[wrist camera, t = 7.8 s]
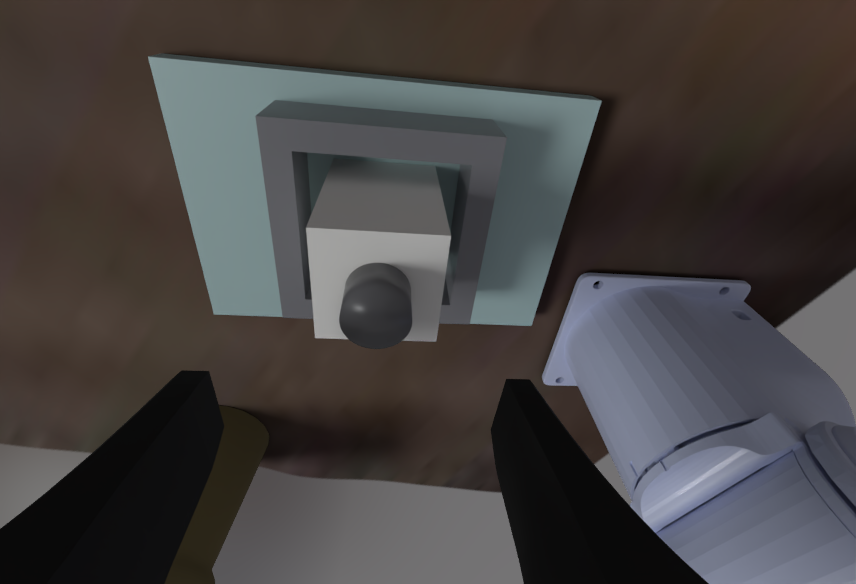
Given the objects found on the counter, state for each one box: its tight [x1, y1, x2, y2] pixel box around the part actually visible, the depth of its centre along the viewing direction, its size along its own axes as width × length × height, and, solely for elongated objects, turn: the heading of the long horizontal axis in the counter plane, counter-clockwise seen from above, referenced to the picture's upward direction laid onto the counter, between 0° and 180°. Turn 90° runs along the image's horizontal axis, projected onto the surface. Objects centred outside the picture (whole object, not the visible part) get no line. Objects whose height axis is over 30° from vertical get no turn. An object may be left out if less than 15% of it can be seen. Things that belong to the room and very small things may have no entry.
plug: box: [306, 159, 451, 349], centre depth 14 cm, size 4×4×8 cm
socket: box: [148, 53, 602, 326], centre depth 17 cm, size 16×11×4 cm
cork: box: [165, 405, 269, 584], centre depth 22 cm, size 6×6×11 cm
